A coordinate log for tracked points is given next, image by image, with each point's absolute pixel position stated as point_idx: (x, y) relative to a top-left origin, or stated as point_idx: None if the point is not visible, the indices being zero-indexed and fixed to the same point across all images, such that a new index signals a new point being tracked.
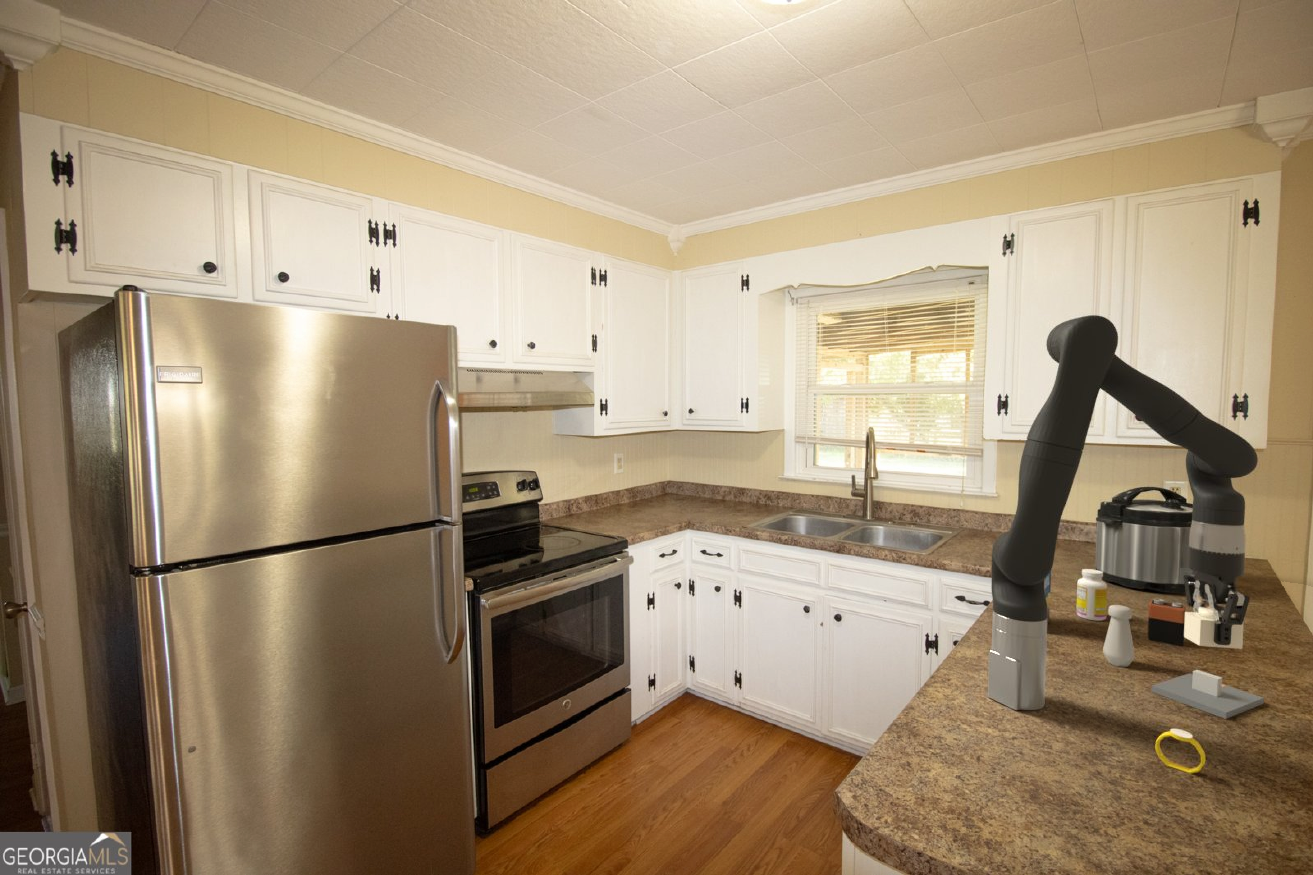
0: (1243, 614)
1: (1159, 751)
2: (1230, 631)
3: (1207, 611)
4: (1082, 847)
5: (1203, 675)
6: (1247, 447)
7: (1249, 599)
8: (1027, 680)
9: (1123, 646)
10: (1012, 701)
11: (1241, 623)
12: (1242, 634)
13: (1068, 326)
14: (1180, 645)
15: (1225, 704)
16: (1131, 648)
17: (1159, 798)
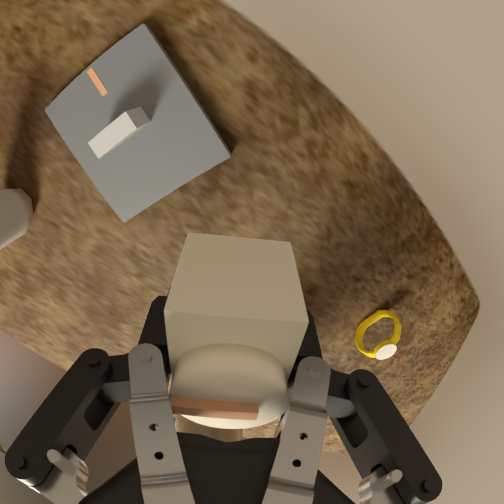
0: (397, 418)
1: (361, 340)
2: (318, 346)
3: (248, 424)
4: (420, 398)
5: (114, 144)
6: None
7: (440, 479)
8: None
9: (12, 228)
10: None
11: (374, 379)
12: (298, 280)
13: None
14: None
15: (189, 128)
16: (8, 210)
17: (404, 353)
